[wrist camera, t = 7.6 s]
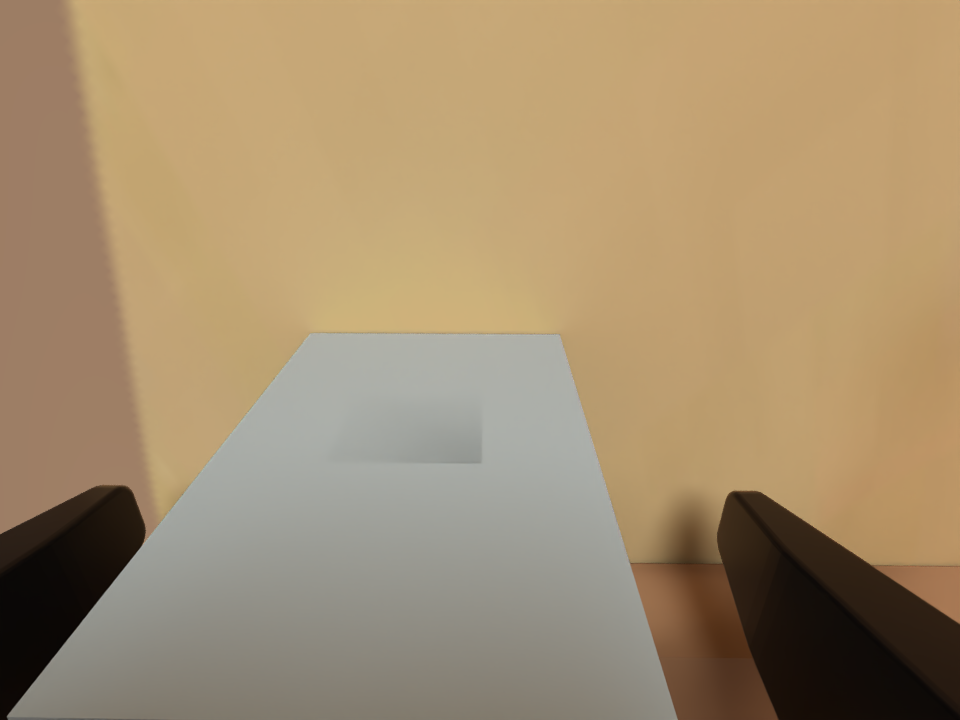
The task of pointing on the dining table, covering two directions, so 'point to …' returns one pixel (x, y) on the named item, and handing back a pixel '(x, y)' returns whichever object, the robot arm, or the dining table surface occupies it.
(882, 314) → the dining table surface
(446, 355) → the light blue block
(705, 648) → the board
